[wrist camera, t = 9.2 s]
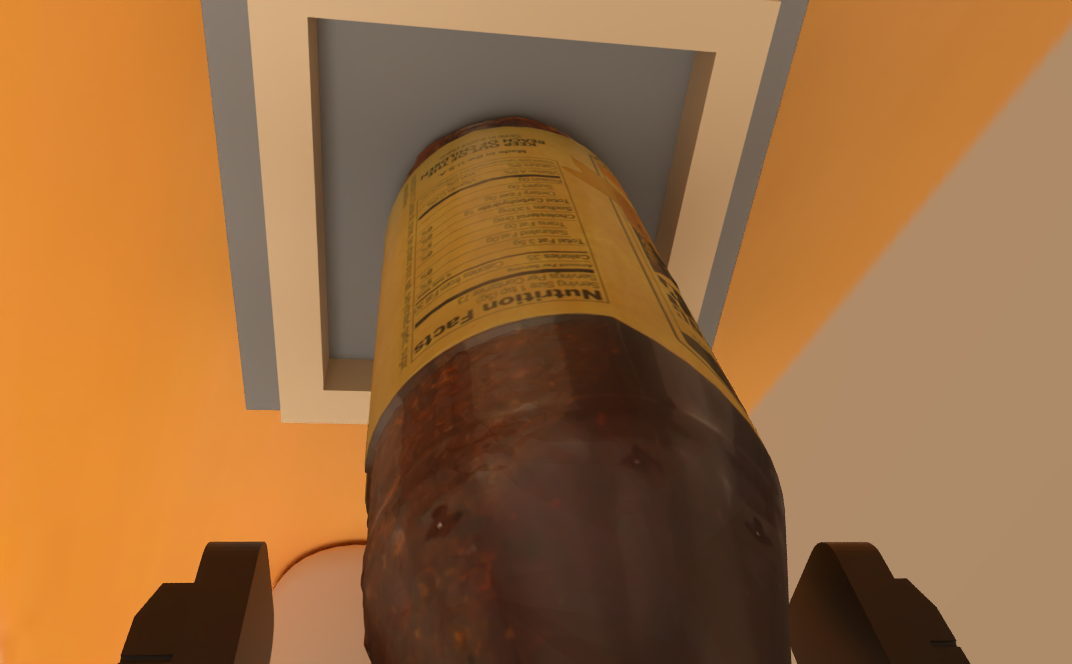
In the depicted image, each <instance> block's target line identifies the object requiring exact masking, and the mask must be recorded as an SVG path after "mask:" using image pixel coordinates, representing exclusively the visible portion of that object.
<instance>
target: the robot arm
mask: <svg viewBox="0 0 1072 664" xmlns="http://www.w3.org/2000/svg"><path fill="white" fill-rule="evenodd" d="M789 623H790V645H791V649H792V652H793V654H794V657H795V659H796V661H797V664H970V663H969V661H968V659H967V658H966V656H965V654H964V653H963V651H962V649H961V648H960V647H957V645H956V639H955V637H954V636H953V634H952V632H951V631H950V629H949V627H948V626H947V624H946V622H945V621H944V619H943V617H942V616H941V614H940V612H939V611H938V609H937V607H936V606H935V605H934V604H933V603H932V602H930V600H928V599H927V598H926V597H925V596H924V595H923V594H922V593H921V592H920V591H919V590H918V589H917V588H916V587H915V586H914V585H913V584H912V583H911V582H910V581H909V580H908V579H905V578H903V579H894V577H893V575H892V574H891V572H890V570H889V568H888V566H887V565H886V563H885V561H884V559H883V558H882V556H881V554H880V552H879V551H878V550H877V548H876V547H875V546H873V545H872V544H870V543H867V542H821V543H818V544H817V545H816V546H815V547H814V549H813V551H812V552H811V555H810V557H809V559H808V562H807V564H806V566H805V569H804V571H803V573H802V575H801V578H800V580H799V582H798V585H797V587H796V589H795V592H794V594H793V596H792V598H791V601H790V603H789ZM273 634H274V607H273V597H272V588H271V578H270V569H269V559H268V550H267V545H266V543H265V542H209V543H208V544H207V545H206V547H205V550H204V552H203V555H202V558H201V562H200V565H199V569H198V572H197V575H196V579H195V582H194V583H163V584H162V585H161V586H160V587H159V588H158V590H157V591H156V592H155V593H154V594H153V596H152V597H151V598H150V599H149V600H148V601H147V603H146V604H145V605H144V606H143V607H142V608H141V610H140V611H139V612H138V613H137V614H136V616H135V617H134V619H133V622H132V625H131V628H130V631H129V634H128V636H127V639H126V642H125V645H124V648H123V650H122V653H121V660H120V663H118V664H270V659H271V652H272V645H273Z"/></svg>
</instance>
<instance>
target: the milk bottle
mask: <svg viewBox="0 0 1072 664" xmlns="http://www.w3.org/2000/svg"><path fill="white" fill-rule="evenodd" d="M365 547H366V545H348V546H338V547H334V548H330V549H326V550H322V551H319V552H317V553H315V554H312V555H310V556H307V557H305V558H304V559H302V560H301V561H300V562H298V563H296V564H295V565H293V566H292V567H291V568H290V569H289V570H288V571H287V572H286V573H285V574H284V575H283V577H282V578H281V579H280V581H279V582H278V583H277V585H276V586H275V588H274V590H273V592H272V597H273V607H274V634H273V645H272V652H271V659H270V664H371V661H370V659H369V657H368V655H367V652H366V650H365V647H364V634H365V628H364V618H363V606H362V604H363V592H362V589H361V585H360V584H361V575H362V567H363V555H364V551H365Z"/></svg>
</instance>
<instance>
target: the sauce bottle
mask: <svg viewBox="0 0 1072 664" xmlns="http://www.w3.org/2000/svg"><path fill="white" fill-rule="evenodd" d="M365 472H366V473H367V475H366V490H365V503H366V509H367V514H368V519H367V527H368V535H367V544H366V547H365V551H364V555H363V567H362V575H361V584H360V585H361V589H362V592H363V604H362V606H363V618H364V628H365V634H364V647H365V650H366V652H367V655H368V657H369V659H370V661H371V664H791V645H790V623H789V598H788V573H787V572H788V571H787V549H786V526H785V508H784V502H783V501H784V500H783V494H782V490H781V486H780V482H779V479H778V475H777V473H776V470H775V468H774V465H773V463H772V460H771V458H770V456H769V454H768V452H767V450H766V448H765V447H764V445H763V443H762V441H761V439H760V437H759V435H758V433H757V431H756V429H755V428H754V426H753V424H752V422H751V420H750V419H749V417H748V415H747V412H746V410H745V408H744V407H743V405H742V404H741V402H740V400H739V399H738V397H737V395H736V393H735V391H734V390H733V388H732V386H731V384H730V383H729V381H728V379H727V378H726V376H725V374H724V372H723V371H722V369H721V367H720V365H719V364H718V362H717V360H716V358H715V356H714V354H713V352H712V350H711V348H710V346H709V344H708V343H707V341H706V339H705V338H704V336H703V334H702V332H701V330H700V328H699V326H698V324H697V322H696V321H695V319H694V317H693V315H692V313H691V311H690V310H689V308H688V307H687V305H686V303H685V302H684V300H683V298H682V296H681V293H680V291H679V288H678V285H677V284H676V282H675V280H674V279H673V278H672V276H671V275H670V273H669V271H668V269H667V267H666V266H665V264H664V262H663V261H662V259H661V258H660V256H659V254H658V252H657V250H656V248H655V246H654V244H653V243H652V241H651V239H650V237H649V235H648V233H647V231H646V230H645V228H644V226H643V224H642V222H641V220H640V218H639V217H638V215H637V213H636V211H635V209H634V207H633V206H632V204H631V202H630V200H629V199H628V197H627V195H626V193H625V191H624V190H623V188H622V186H621V185H620V183H619V181H618V180H617V178H616V177H615V176H614V174H613V173H612V172H611V170H610V169H609V168H608V167H607V166H606V165H605V164H604V163H603V162H602V161H601V160H600V159H599V158H598V157H597V156H596V155H595V154H594V153H593V152H591V151H590V150H589V149H587V148H586V147H585V146H583V145H581V144H579V143H577V142H576V141H575V140H574V139H572V138H571V137H570V136H569V135H567V134H565V133H563V132H560V131H558V130H557V129H555V128H553V127H550V126H547V125H545V124H542V123H540V122H537V121H535V120H531V119H527V118H522V117H508V118H503V119H495V120H492V121H484V122H483V123H477V124H473V125H469V126H467V127H464V128H462V129H459V130H458V131H455V132H453V133H452V134H451V135H448V136H446V137H445V138H442V139H439V140H436V141H434V142H433V143H432V144H431V145H429V146H428V147H427V148H426V149H425V150H424V151H423V152H421V153H420V154H419V155H418V157H417V159H416V163H415V164H414V166H413V167H412V169H411V170H410V172H409V173H408V174H407V176H406V179H405V181H404V183H403V185H402V188H401V190H400V192H399V194H398V196H397V198H396V200H395V203H394V205H393V207H392V210H391V213H390V216H389V220H388V225H387V230H386V235H385V247H384V261H383V269H382V279H381V290H380V300H379V310H378V321H377V332H376V343H375V354H374V365H373V376H372V387H371V398H370V409H369V420H368V431H367V442H366V453H365Z"/></svg>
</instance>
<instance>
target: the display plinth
mask: <svg viewBox="0 0 1072 664" xmlns="http://www.w3.org/2000/svg"><path fill="white" fill-rule="evenodd" d="M808 2H809V0H201V6H202V15H203V24H204V33H205V42H206V51H207V60H208V69H209V78H210V87H211V96H212V105H213V114H214V123H215V132H216V141H217V150H218V159H219V168H220V177H221V186H222V195H223V204H224V213H225V222H226V231H227V240H228V249H229V258H230V267H231V276H232V285H233V294H234V303H235V312H236V321H237V330H238V339H239V348H240V357H241V366H242V375H243V384H244V393H245V402H246V410H281V422H282V423H332V424H368V420H369V409H370V398H371V387H372V376H373V365H374V354H375V343H376V332H377V321H378V310H379V300H380V290H381V279H382V269H383V261H384V247H385V235H386V230H387V225H388V220H389V216H390V213H391V210H392V207H393V205H394V203H395V200H396V198H397V196H398V194H399V192H400V190H401V188H402V185H403V183H404V181H405V179H406V176H407V174H408V173H409V172H410V170H411V169H412V167H413V166H414V164H415V163H416V159H417V157H418V155H419V154H420V153H421V152H423V151H424V150H425V149H426V148H427V147H428V146H429V145H431V144H432V143H433V142H434V141H436V140H439V139H442V138H445V137H446V136H448V135H451V134H452V133H453V132H455V131H458V130H459V129H462V128H464V127H467V126H469V125H473V124H477V123H483V122H484V121H492V120H495V119H503V118H508V117H522V118H527V119H531V120H535V121H537V122H540V123H542V124H545V125H547V126H550V127H553V128H555V129H557V130H558V131H560V132H563V133H565V134H567V135H569V136H570V137H571V138H572V139H574V140H575V141H576V142H577V143H579V144H581V145H583V146H585V147H586V148H587V149H589V150H590V151H591V152H593V153H594V154H595V155H596V156H597V157H598V158H599V159H600V160H601V161H602V162H603V163H604V164H605V165H606V166H607V167H608V168H609V169H610V170H611V172H612V173H613V174H614V176H615V177H616V178H617V180H618V181H619V183H620V185H621V186H622V188H623V190H624V191H625V193H626V195H627V197H628V199H629V200H630V202H631V204H632V206H633V207H634V209H635V211H636V213H637V215H638V217H639V218H640V220H641V222H642V224H643V226H644V228H645V230H646V231H647V233H648V235H649V237H650V239H651V241H652V243H653V244H654V246H655V248H656V250H657V252H658V254H659V256H660V258H661V259H662V261H663V262H664V264H665V266H666V267H667V269H668V271H669V273H670V275H671V276H672V278H673V279H674V280H675V282H676V284H677V285H678V288H679V291H680V293H681V296H682V298H683V300H684V302H685V303H686V305H687V307H688V308H689V310H690V311H691V313H692V315H693V317H694V319H695V321H696V322H697V324H698V326H699V328H700V330H701V332H702V334H703V336H704V338H705V339H706V341H707V343H708V344H709V346H710V348H711V350H712V346H713V343H714V339H715V335H716V332H717V328H718V325H719V321H720V317H721V314H722V310H723V307H724V303H725V300H726V296H727V292H728V289H729V285H730V282H731V278H732V274H733V271H734V267H735V264H736V260H737V257H738V253H739V249H740V246H741V242H742V239H743V235H744V231H745V228H746V224H747V221H748V217H749V214H750V210H751V206H752V203H753V199H754V196H755V192H756V188H757V185H758V181H759V178H760V174H761V171H762V167H763V163H764V160H765V156H766V153H767V149H768V145H769V142H770V138H771V135H772V131H773V128H774V124H775V120H776V117H777V113H778V110H779V106H780V102H781V99H782V95H783V92H784V88H785V85H786V81H787V77H788V74H789V70H790V67H791V63H792V59H793V56H794V52H795V49H796V45H797V42H798V38H799V34H800V31H801V27H802V24H803V20H804V16H805V13H806V9H807V6H808Z"/></svg>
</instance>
